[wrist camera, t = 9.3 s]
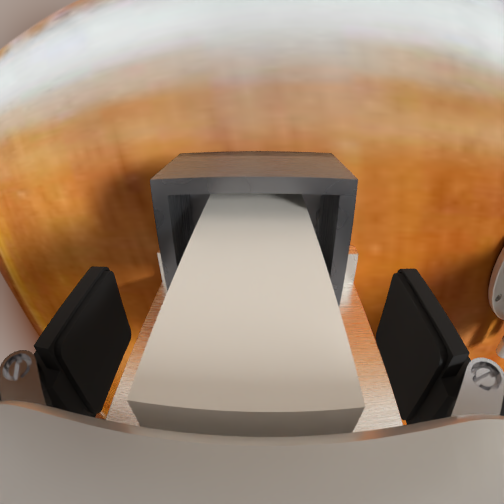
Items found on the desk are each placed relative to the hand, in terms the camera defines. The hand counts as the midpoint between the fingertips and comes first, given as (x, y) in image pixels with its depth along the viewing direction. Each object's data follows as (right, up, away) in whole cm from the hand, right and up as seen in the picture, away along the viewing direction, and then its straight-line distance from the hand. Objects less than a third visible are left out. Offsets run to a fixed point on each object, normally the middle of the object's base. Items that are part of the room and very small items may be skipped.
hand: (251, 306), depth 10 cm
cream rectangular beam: (0, +3, +5) cm, 6 cm away
